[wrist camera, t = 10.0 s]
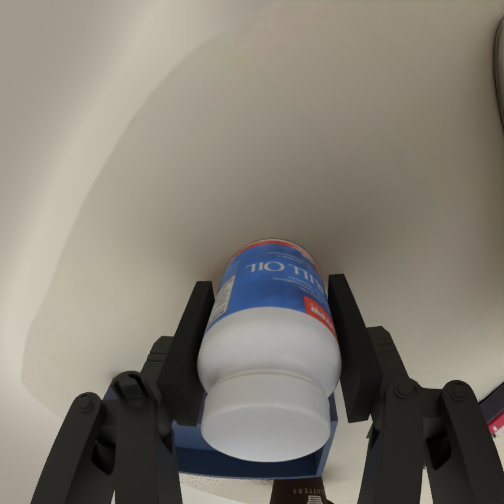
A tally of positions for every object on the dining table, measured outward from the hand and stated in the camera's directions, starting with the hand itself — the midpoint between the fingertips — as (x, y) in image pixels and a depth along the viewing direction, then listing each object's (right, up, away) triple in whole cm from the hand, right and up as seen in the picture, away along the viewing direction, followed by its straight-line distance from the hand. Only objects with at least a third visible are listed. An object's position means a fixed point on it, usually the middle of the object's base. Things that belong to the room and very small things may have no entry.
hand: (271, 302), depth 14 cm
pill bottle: (0, +1, +2) cm, 2 cm away
